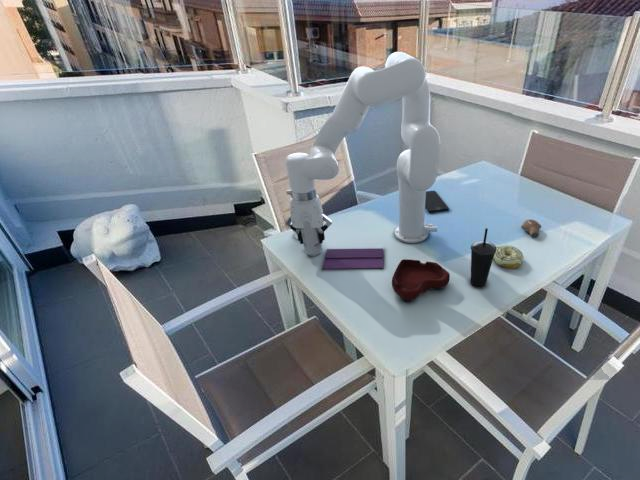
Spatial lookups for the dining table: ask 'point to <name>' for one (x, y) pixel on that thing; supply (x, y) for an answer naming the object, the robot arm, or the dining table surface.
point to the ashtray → (418, 278)
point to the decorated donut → (508, 256)
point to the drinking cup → (481, 261)
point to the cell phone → (434, 202)
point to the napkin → (353, 259)
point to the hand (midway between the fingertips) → (312, 241)
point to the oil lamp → (531, 227)
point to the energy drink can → (311, 239)
